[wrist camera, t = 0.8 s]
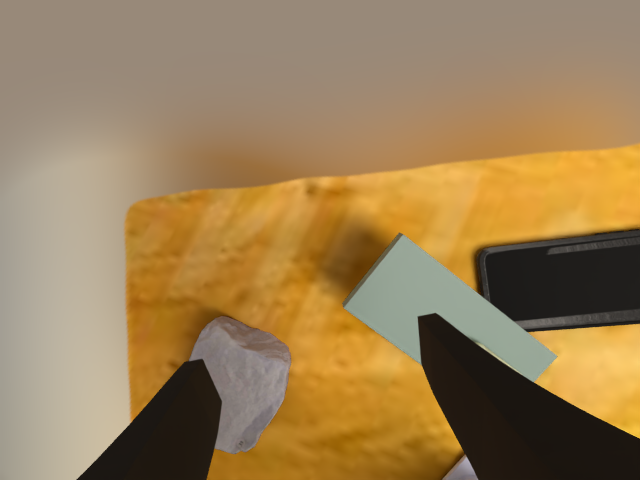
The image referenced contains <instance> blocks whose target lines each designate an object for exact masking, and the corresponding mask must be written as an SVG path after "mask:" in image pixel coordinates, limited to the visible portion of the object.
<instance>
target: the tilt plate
mask: <svg viewBox="0 0 640 480" xmlns="http://www.w3.org/2000/svg"><path fill="white" fill-rule="evenodd" d="M342 304H343V307H344V309H346V310H347V311H348V312H350V313H351V314H353V315H354V316H355V317H357V318H358V319H359V320H361V321H362V322H364V323H365V324H366V325H368V326H369V327H370V328H372V329H373V330H374V331H376V332H377V333H379V334H380V335H381V336H383V337H384V338H385V339H387V340H388V341H390V342H391V343H392V344H394V345H395V346H396V347H398V348H399V349H400V350H402V351H403V352H405V353H406V354H407V355H409V356H410V357H411V358H413V359H414V360H416V361H417V362H418V363H420V364H421V355H420V342H419V329H418V317H417V316H422V315H427V314H432V313H437V314H439V315H440V316H441V317H443V318H444V319H445V320H446V321H448V322H449V323H450V324H451V325H453V326H454V327H455V328H457V329H458V330H459V331H460V332H462V333H463V334H464V335H466V336H467V337H468V338H470V339H471V340H472V341H474V342H475V343H476V344H478V345H479V346H480V347H482V348H483V349H485V350H486V351H488V352H489V353H490V354H492V355H493V356H495V357H496V358H497V359H499V360H500V361H502V362H503V363H505V364H506V365H508V366H509V367H511V368H512V369H514V370H515V371H517V372H518V373H520V374H521V375H523V376H524V377H526V378H528V379H529V380H531V381H532V382H534V381H535V380H536V379H537V378H538V377H539V376H540V375H541V374H542V373H543V372H544V371H545V369H546V368H547V367H548V366H549V365H550V364H551V363H552V362H553V361H554V360H555V359H556V358H557V357H558V356H557V355H555V354H554V353H553V352H551V351H550V350H549V349H548V348H546V347H545V346H544V345H543V344H541V343H540V342H539V341H538V340H536V339H535V338H534V337H532V336H531V335H530V334H529V333H527V332H526V331H525V330H524V329H522V328H521V327H520V326H519V325H517V324H516V323H515V322H513V321H512V320H511V319H510V318H508V317H507V316H506V315H505V314H503V313H502V312H501V311H500V310H498V309H497V308H496V307H495V306H493V305H492V304H491V303H489V302H488V301H487V300H486V299H484V298H483V297H482V296H481V295H479V294H478V293H477V292H476V291H474V290H473V289H472V288H470V287H469V286H468V285H467V284H465V283H464V282H463V281H462V280H460V279H459V278H458V277H457V276H455V275H454V274H453V273H452V272H450V271H449V270H448V269H446V268H445V267H444V266H443V265H441V264H440V263H439V262H438V261H436V260H435V259H434V258H433V257H431V256H430V255H429V254H427V253H426V252H425V251H424V250H422V249H421V248H420V247H419V246H417V245H416V244H415V243H414V242H412V241H411V240H410V239H408V238H407V237H406V236H405V235H403V234H401V233H399V234H398V235H397V236H396V237H395V239H394V240H393V241H392V242H391V244H390V245H389V246H388V247H387V248H386V250H385V251H384V252H383V253H382V255H381V256H380V257H379V258H378V260H377V261H376V262H375V263H374V265H373V266H372V267H371V268H370V270H369V271H368V272H367V273H366V275H365V276H364V277H363V278H362V279H361V281H360V282H359V283H358V284H357V286H356V287H355V288H354V289H353V291H352V292H351V293H350V294H349V296H348V297H347V298H346V299H345V301H344V302H343V303H342ZM421 365H422V364H421Z"/></svg>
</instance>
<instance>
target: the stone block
mask: <svg viewBox="0 0 640 480" xmlns="http://www.w3.org/2000/svg"><path fill="white" fill-rule="evenodd" d="M198 359H203V360H204V363H205V365H206V367H207V369H208V371H209V374H210V376H211V378H212V380H213V382H214V385H215V387H216V389H217V391H218V393H219V396H220V398H221V400H222V407H221V415H220V423H219V429H218V435H217V440H216V444H215V448H216V449H219V450H222V451H225V452H228V453H231V454H236V453H238V452H239V451H243V452H247V451H248V450H249V449H251V448H253V447H254V446H255V445H256V443H257V442H258V440H259V438H260V435H261V433H262V432H263V430H264V429H265V428H266V427H267V425H268V424H269V423H270V422H271V420H272V419H273V417H274V416H275V414H276V412H277V411H278V408H279V407H280V405H281V404H282V402H283V400H284V397H285V391H286V388H287V384H288V376H289V368H290V365H291V355H290V352H289V348H288V346H287V345H285V344H284V343H283V342H281V341H280V340H278V339H277V338H276V337H275V336H274V335H272V334H271V333H267V332H264V331H261V330H259V329H252V328H250V327H248V326H246V325H245V324H243V323H242V322H239V321H237V320H234V319H232V318H229V317H225V316H220V317H218V318H215V319H214V320H213V321H211V322H210V323H208V324H207V325H206V327H205V328H204V329H203V330H202V331H201V333H200V335H199V338H198V340H197V341H196V343H195V346H194V348H193V351H192V354H191V357H190V359H189V361H193V360H198Z"/></svg>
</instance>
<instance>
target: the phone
mask: <svg viewBox="0 0 640 480" xmlns="http://www.w3.org/2000/svg"><path fill="white" fill-rule="evenodd" d="M477 267H479V268H478V275H479V282H480V289H481V296H482V297H483V298H484V299H486V300H487V301H488V302H489V303H491V304H492V305H493V306H495V307H496V308H497V309H498V310H500V311H501V312H502V313H503V314H505V315H506V316H507V317H508V318H510V319H511V320H512V321H513V322H515V323H516V324H517V325H519V326H520V327H521V328H522V329H524V330H525V331H526V332H535V331H548V330H562V329H575V328H589V327H602V326H616V325H629V324H640V230H639V229H635V230H629V231H625V232H624V231H616V232H610V233H598V234H595V235H590V236H582V237H573V238H565V239H556V240H547V241H539V242H530V243H522V244H513V245H504V246H496V247H488V248H484V249H483V250H481V251H480V252H479V253H478V256H477Z"/></svg>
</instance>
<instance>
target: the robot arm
mask: <svg viewBox="0 0 640 480" xmlns="http://www.w3.org/2000/svg"><path fill="white" fill-rule="evenodd" d="M417 317H418V329H419V342H420V355H421V364H422V367H423V369H424V372H425V374H426V377H427V379H428V382H429V384H430V387H431V389H432V392H433V394H434V396H435V398H436V400H437V402H438V404H439V406H440V407H441V409H442V411H443V413H444V415H445V417H446V419H447V421H448V423H449V425H450V426H451V428H452V430H453V432H454V434H455V436H456V438H457V440H458V442H459V443H460V445H461V447H462V449H463V451H464V453H465V455H464V456H463V457H462V458H461V459H460V461H459V462H458V463H457V464H456V465H455V466H454V467H453V468H452V469H451V470H450V471H449V472H448V474H447V475H446V476H445V477H444V478H443V479H442V480H640V439H639V438H637V437H635V436H633V435H631V434H629V433H627V432H625V431H623V430H621V429H619V428H617V427H615V426H613V425H611V424H609V423H607V422H605V421H603V420H601V419H599V418H597V417H595V416H593V415H591V414H589V413H587V412H585V411H583V410H581V409H579V408H578V407H576V406H574V405H572V404H570V403H569V402H567V401H565V400H563V399H561V398H560V397H558V396H556V395H554V394H553V393H551V392H549V391H547V390H546V389H544V388H542V387H541V386H539V385H537V384H536V383H534V382H532V381H531V380H529V379H528V378H526V377H524V376H523V375H521V374H520V373H518V372H517V371H515V370H514V369H512V368H511V367H509V366H508V365H506V364H505V363H503V362H502V361H500V360H499V359H497V358H496V357H495V356H493V355H492V354H490V353H489V352H488V351H486V350H485V349H483V348H482V347H480V346H479V345H478V344H476V343H475V342H474V341H472V340H471V339H470V338H468V337H467V336H466V335H464V334H463V333H462V332H460V331H459V330H458V329H457V328H455V327H454V326H453V325H451V324H450V323H449V322H448V321H446V320H445V319H444V318H443V317H441V316H440V315H439V314H437V313H432V314H427V315H422V316H417ZM221 407H222V400H221V398H220V396H219V393H218V391H217V389H216V387H215V385H214V382H213V380H212V378H211V376H210V374H209V371H208V369H207V367H206V365H205V363H204V360H203V359H198V360H193V361H188V362H184V363H183V364H182V366H181V367H180V368H179V369H178V370H177V371H176V372H175V373H174V374H173V375H172V377H171V378H170V379H169V380H168V381H167V382H166V383H165V385H164V386H163V387H162V388H161V389H160V390H159V392H158V393H157V394H156V395H155V396H154V397H153V399H152V400H151V401H150V402H149V403H148V404H147V405H146V406H145V408H144V409H143V410H142V411H141V412H140V413H139V414H138V416H137V417H136V418H135V419H134V420H133V421H132V422H131V423H130V425H129V426H128V427H127V428H126V429H125V430H124V431H123V432H122V433H121V434H120V435H119V436H118V437H117V439H116V440H115V441H114V442H113V443H112V444H111V445H110V446H109V447H108V448H107V449H106V450H105V451H104V452H103V453H102V454H101V456H100V457H99V458H98V459H97V460H96V461H95V462H94V463H93V464H92V465H91V466H90V467H89V468H88V469H87V470H86V471H85V472H84V473H83V474H82V475H81V476H80V477H79V478H78V479H77V480H206V479H207V475H208V471H209V467H210V463H211V459H212V456H213V452H214V448H215V444H216V440H217V435H218V429H219V423H220V415H221Z"/></svg>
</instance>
